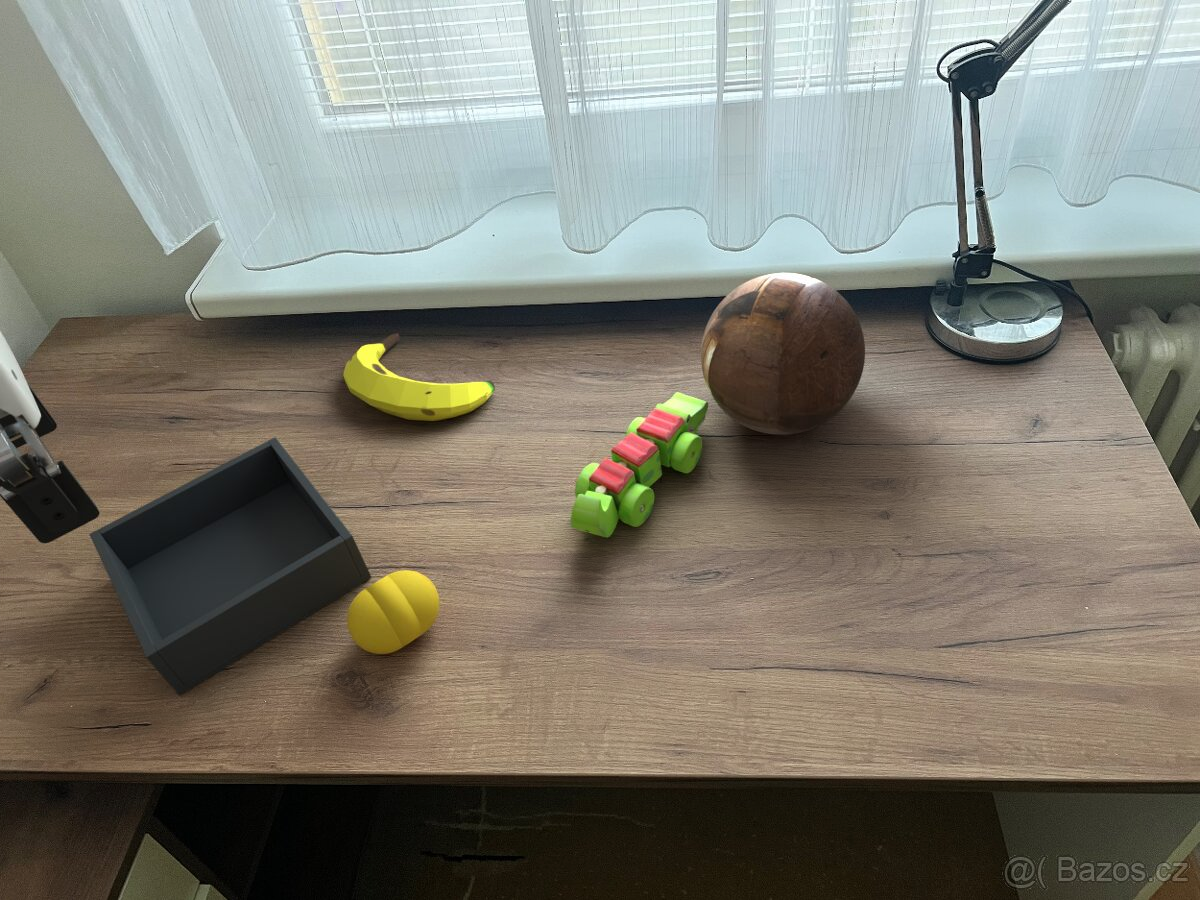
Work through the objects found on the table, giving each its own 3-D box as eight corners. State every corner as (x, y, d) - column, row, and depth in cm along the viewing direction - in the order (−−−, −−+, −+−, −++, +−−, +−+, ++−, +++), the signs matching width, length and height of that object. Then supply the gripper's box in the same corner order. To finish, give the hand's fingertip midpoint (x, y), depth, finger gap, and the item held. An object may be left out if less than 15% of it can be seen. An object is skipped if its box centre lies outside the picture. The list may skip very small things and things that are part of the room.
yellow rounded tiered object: (379, 680, 69) (349, 628, 66) (354, 647, 73) (326, 597, 70) (460, 625, 72) (435, 573, 69) (432, 596, 76) (408, 547, 73)
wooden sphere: (858, 371, 90) (876, 245, 80) (852, 475, 80) (871, 346, 70) (714, 360, 94) (713, 237, 83) (690, 458, 84) (686, 333, 73)
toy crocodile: (671, 409, 89) (668, 362, 85) (727, 432, 86) (728, 385, 82) (549, 535, 79) (539, 490, 74) (608, 567, 75) (601, 521, 71)
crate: (179, 696, 71) (146, 657, 66) (120, 574, 80) (88, 533, 76) (372, 577, 77) (352, 535, 73) (295, 478, 87) (275, 436, 83)
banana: (479, 397, 87) (514, 326, 99) (314, 385, 89) (368, 316, 101) (483, 435, 89) (517, 361, 101) (323, 421, 92) (374, 351, 104)
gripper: (-258, 186, 43) (-44, 437, 55) (-247, 339, 32) (15, 608, 44) (-91, 132, 46) (78, 382, 58) (-32, 257, 35) (159, 530, 47)
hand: (50, 480), depth 51 cm, fingers open, 9 cm apart
